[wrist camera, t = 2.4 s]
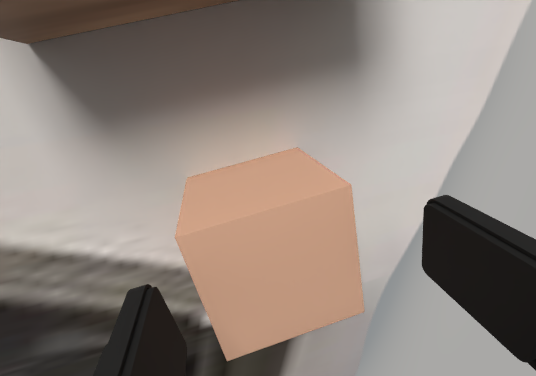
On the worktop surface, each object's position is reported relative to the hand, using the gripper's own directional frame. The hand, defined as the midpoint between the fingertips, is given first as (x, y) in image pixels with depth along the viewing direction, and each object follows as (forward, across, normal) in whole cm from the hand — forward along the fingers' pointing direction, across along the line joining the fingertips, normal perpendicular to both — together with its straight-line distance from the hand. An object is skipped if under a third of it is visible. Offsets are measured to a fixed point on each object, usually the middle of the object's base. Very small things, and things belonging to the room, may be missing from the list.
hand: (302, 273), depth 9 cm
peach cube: (+7, +1, +1) cm, 7 cm away
